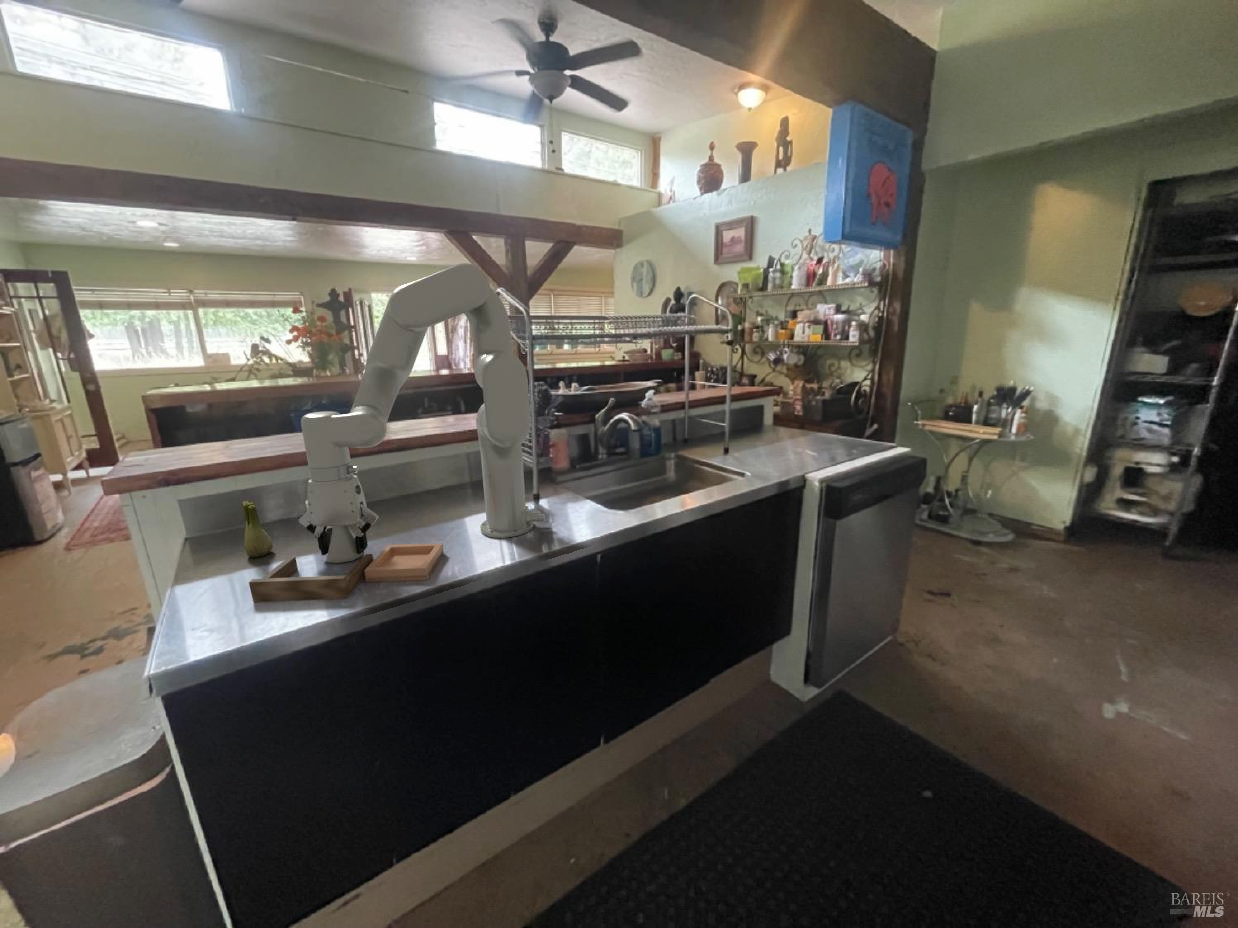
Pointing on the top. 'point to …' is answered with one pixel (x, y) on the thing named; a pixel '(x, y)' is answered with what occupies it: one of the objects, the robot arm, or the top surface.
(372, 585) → the top surface
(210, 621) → the top surface
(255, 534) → the fennel bulb
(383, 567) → the tray
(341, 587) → the bay
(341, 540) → the flask
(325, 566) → the top surface
